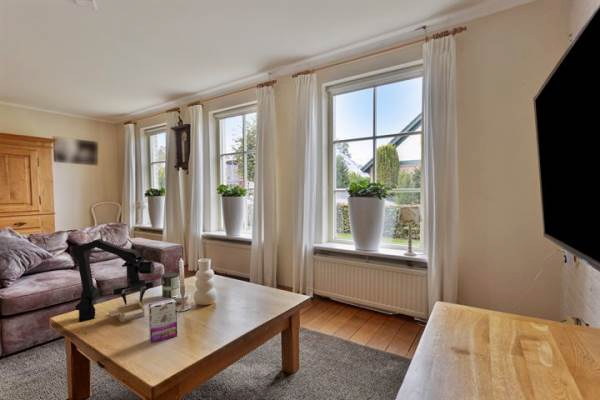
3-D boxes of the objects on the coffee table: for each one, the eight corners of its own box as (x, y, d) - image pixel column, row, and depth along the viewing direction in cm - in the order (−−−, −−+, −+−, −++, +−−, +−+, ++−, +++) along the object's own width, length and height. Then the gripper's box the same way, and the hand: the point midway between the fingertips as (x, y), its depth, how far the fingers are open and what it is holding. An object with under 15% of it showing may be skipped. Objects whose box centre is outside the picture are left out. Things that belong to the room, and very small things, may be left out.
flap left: (119, 305, 158) (118, 302, 160) (119, 306, 158) (118, 302, 160) (136, 302, 163) (134, 298, 165) (136, 302, 163) (134, 299, 165)
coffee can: (161, 300, 178) (161, 277, 178) (162, 295, 188) (161, 273, 187) (180, 297, 183) (179, 275, 182) (179, 292, 192) (179, 271, 192)
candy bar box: (174, 332, 138) (174, 298, 138) (177, 336, 134) (177, 301, 134) (148, 339, 132) (148, 303, 131) (150, 343, 128) (150, 307, 127)
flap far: (143, 306, 156) (143, 300, 156) (139, 302, 162) (139, 296, 162) (143, 306, 157) (143, 300, 157) (140, 302, 163) (140, 296, 163)
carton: (112, 327, 142) (112, 319, 142) (107, 317, 154) (107, 309, 154) (146, 318, 152) (146, 310, 152) (139, 310, 164) (139, 302, 164)
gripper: (115, 281, 143) (115, 312, 144) (155, 274, 155) (156, 302, 156) (111, 276, 152) (111, 305, 152) (150, 269, 164) (150, 297, 164)
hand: (133, 303), depth 156 cm, fingers open, 7 cm apart
